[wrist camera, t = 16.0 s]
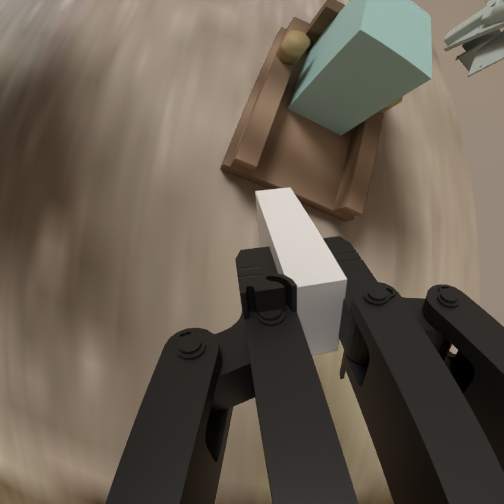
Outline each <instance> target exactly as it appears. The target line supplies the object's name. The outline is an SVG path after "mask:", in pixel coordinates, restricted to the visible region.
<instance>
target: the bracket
mask: <svg viewBox="0 0 504 504" xmlns="http://www.w3.org/2000/svg"><path fill="white" fill-rule="evenodd" d="M503 27H504V0H491V1H489V2H488V3H487V6H486V7H485V8H484V9H482V10H481V11H479V12H477V13H476V14H474V15H473V16H472V17H470V18H468V19H467V20H465V21H464V22H462V23H461V24H459V25H458V26H456V27H455V28H454V29H452V30H450V31H449V32H448V33H447V35H446V37H445V38H444V42H445V43H446V44H447V45H448V47H447V48H445V49H444V50H445V51H448V50H450V49H452V48H454V47H457V46H459V45H461V44H463V46H462V47H463V48H464V49H465V51H466V52H464V53H463V54H461V55H459V56H457V58H456V60H457V59H459V60H460V61H461V62H462V63H463V65H464V66H465V67H466V68H467V69H468V71H469V74H468V77H469V76H471V75H473V74H475V73H477V72H478V71H480V70H482V69H484V68H486V67H488V66H490V65H492V64H494V63H496V62H498V61H500V60H502V59H504V31H503V32H501V31H500V30H499V29H500V28H503Z"/></svg>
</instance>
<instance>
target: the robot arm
mask: <svg viewBox="0 0 504 504" xmlns="http://www.w3.org/2000/svg"><path fill="white" fill-rule="evenodd" d="M255 196H256V208H257V220H258V232H259V245H260V248H253V249H245V250H240V252H239V254H238V256H237V257H236V267H237V274H238V282H239V289H240V297H241V304H242V314H241V317H240V319H239V320H238V321H237V323H236V324H234V325H233V326H232V327H230V328H229V329H227V330H225V331H222V332H220V333H217V334H215V335H214V334H213V333H211V332H210V331H208V330H205V329H201V328H189V329H185V330H182V331H179V332H177V333H176V334H174V335H173V336H172V337H170V338H169V340H168V341H167V343H166V344H165V346H164V348H163V351H162V353H161V356H160V358H159V361H158V363H157V365H156V368H155V370H154V373H153V375H152V378H151V381H150V383H149V386H148V388H147V391H146V393H145V396H144V398H143V401H142V404H141V406H140V409H139V411H138V414H137V417H136V419H135V422H134V425H133V427H132V430H131V433H130V435H129V438H128V441H127V444H126V446H125V449H124V452H123V455H122V457H121V460H120V463H119V466H118V469H117V471H116V474H115V477H114V480H113V483H112V486H111V489H110V492H109V495H108V498H107V501H106V504H214V503H215V498H216V493H217V488H218V483H219V478H220V473H221V468H222V462H223V457H224V452H225V447H226V442H227V437H228V431H229V426H230V421H231V416H232V411H233V406H236V405H238V404H240V403H243V402H245V401H247V400H249V399H252V398H254V397H255V399H256V406H257V412H258V418H259V424H260V430H261V437H262V443H263V449H264V455H265V461H266V467H267V473H268V479H269V484H270V490H271V496H272V502H273V504H358V502H357V498H356V495H355V491H354V488H353V485H352V481H351V478H350V475H349V471H348V468H347V465H346V462H345V458H344V455H343V452H342V449H341V445H340V442H339V439H338V436H337V433H336V429H335V426H334V423H333V420H332V417H331V414H330V410H329V407H328V404H327V401H326V398H325V395H324V392H323V389H322V386H321V382H320V379H319V376H318V373H317V370H316V367H315V364H314V361H313V358H312V355H318V354H323V353H328V352H333V351H337V350H338V344H339V338H340V341H341V343H342V345H343V348H344V353H343V358H342V364H341V369H340V379H343V378H344V375H345V371H346V372H347V375H348V377H349V380H350V382H351V385H352V388H353V390H354V393H355V395H356V398H357V401H358V403H359V406H360V409H361V411H362V414H363V417H364V419H365V422H366V425H367V427H368V430H369V433H370V436H371V438H372V441H373V444H374V447H375V449H376V452H377V455H378V458H379V461H380V463H381V466H382V469H383V472H384V475H385V478H386V481H387V484H388V487H389V490H390V493H391V496H392V499H393V502H394V504H504V327H503V326H502V325H501V324H500V323H499V322H497V321H496V320H495V319H494V318H493V317H492V316H491V315H489V314H488V313H487V312H486V311H485V310H483V309H482V308H481V307H480V306H479V305H477V304H476V303H475V302H474V301H473V300H471V299H470V298H469V297H468V296H467V295H465V294H464V293H463V292H462V291H460V290H458V289H457V288H455V287H452V286H449V285H436V286H432V287H431V288H430V289H429V290H428V292H427V296H426V299H421V298H404V297H401V296H400V294H399V293H398V292H397V291H396V290H395V289H394V288H393V287H391V286H389V285H387V284H385V283H380V282H377V280H376V279H375V277H374V276H373V274H372V273H371V272H370V270H369V269H368V267H367V266H366V264H365V263H364V262H363V260H361V257H360V256H359V254H358V253H356V250H355V249H354V248H353V246H352V245H351V243H350V242H348V241H346V240H345V239H343V238H341V237H340V236H338V237H330V238H322V236H321V235H320V233H319V232H318V230H317V228H316V227H315V225H314V224H313V222H312V220H311V219H310V217H309V216H308V214H307V212H306V211H305V209H304V208H303V206H302V205H301V203H300V202H299V200H298V198H297V197H296V195H295V194H294V192H293V191H292V189H291V188H290V187H289V188H279V189H270V190H261V191H255ZM452 344H453V345H454V346H455V347H456V348H457V349H458V352H457V354H453V353H451V352H450V351H449V350H450V348H451V346H452Z"/></svg>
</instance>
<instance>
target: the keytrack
mask: <svg viewBox="0 0 504 504" xmlns="http://www.w3.org/2000/svg"><path fill="white" fill-rule="evenodd" d="M344 6H345V5H344V4H342V3H340V2H338V1H336V0H327V1H326V3H325V4H324V5H323V7H322V8H321V9H320V11H319V12H318V13H317V15H316V16H315V18H314V19H313V20H312V22H311V23H310V24H309V23H307V22H305V21H302V20H300V19H298V18H296V17H294V18H293V20H292V21H291V23H290V24H289V26H288V28H287V29H284V28H282V27H281V29H280V30H279V32H278V34H277V36H276V38H275V40H274V42H273V45H272V47H271V49H270V51H269V53H268V56H267V58H266V60H265V62H264V64H263V67H262V69H261V71H260V73H259V76H258V78H257V80H256V83H255V85H254V87H253V90H252V92H251V94H250V97H249V99H248V101H247V104H246V106H245V108H244V111H243V113H242V116H241V118H240V120H239V123H238V125H237V128H236V130H235V133H234V135H233V138H232V140H231V143H230V145H229V148H228V150H227V153H226V155H225V158H224V160H223V163H222V165H221V168H220V169H222V170H225V171H228V172H230V173H233V174H235V175H238V176H240V177H243V178H245V179H248V180H250V181H253V182H255V183H258V184H260V185H263V186H265V187H268V188H270V189H279V188H289V187H290V188H291V189H292V191H293V192H294V194H295V195H296V197H297V198H298V200H299V201H301V202H303V203H305V204H308V205H310V206H312V207H315V208H317V209H319V210H321V211H324V212H326V213H328V214H330V215H333V216H335V217H337V218H339V219H341V220H344V221H350V220H353V219H354V216H357V215H362V214H363V210H364V205H365V201H366V197H367V193H368V188H369V184H370V179H371V175H372V170H373V165H374V160H375V155H376V150H377V145H378V140H379V135H380V129H381V123H382V118H383V113H384V112H385V111H387V110H388V109H390V108H392V107H393V106H395V105H397V104H398V103H400V102H401V101H402V97H401V98H399V99H398V100H396V101H394V102H393V103H391V104H390V105H388V106H386V107H385V108H383V109H382V110H380V111H379V112H377V113H375V114H374V115H372V116H371V117H369V118H368V119H366V120H365V121H363V122H362V123H360V124H358V125H357V126H355V127H354V128H352V129H351V130H349V131H348V132H346V133H345V134H343V135H342V136H340V135H338V134H336V133H335V132H333V131H331V130H329V129H327V128H325V127H323V126H321V125H319V124H317V123H315V122H313V121H311V120H309V119H307V118H305V117H303V116H301V115H299V114H297V113H294V112H292V111H290V110H288V109H287V108H288V106H289V103H290V100H291V97H292V94H293V92H294V89H295V86H296V83H297V81H298V78H299V75H300V72H301V70H302V67H303V64H304V61H305V59H306V56H307V53H308V51H309V50H310V48H311V47H312V46H313V45H314V43H315V42H316V41H317V40H318V38H319V37H320V36H321V35H322V33H323V32H324V31H325V29H326V28H327V27H328V26H329V25H330V23H331V22H332V21H333V20H334V18H335V17H336V16H337V15H338V14H339V12H340V11H341V10H342V9H343V7H344Z"/></svg>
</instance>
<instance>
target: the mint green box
mask: <svg viewBox="0 0 504 504" xmlns="http://www.w3.org/2000/svg"><path fill="white" fill-rule="evenodd" d="M431 74H432V46H431V20H430V15H429V14H428V13H426V12H425V11H424V10H423V9H421V8H420V7H418V6H417V5H416V4H414V3H413V2H412V1H410V0H349V2H348V3H347V4H346V5H345V6H344V7H343V9H342V10H341V11H340V12H339V14H338V15H337V16H336V17H335V18H334V20H333V21H332V22H331V23H330V25H329V26H328V27H327V28H326V29H325V31H324V32H323V33H322V35H321V36H320V37H319V38H318V40H317V41H316V42H315V43H314V45H313V46H312V47H311V48H310V50H309V51H308V53H307V56H306V59H305V61H304V64H303V67H302V70H301V72H300V75H299V78H298V81H297V83H296V86H295V89H294V92H293V94H292V97H291V100H290V103H289V106H288V108H287V109H288V110H290V111H292V112H294V113H297V114H299V115H301V116H303V117H305V118H307V119H309V120H311V121H313V122H315V123H317V124H319V125H321V126H323V127H325V128H327V129H329V130H331V131H333V132H335V133H336V134H338V135H340V136H342V135H343V134H345V133H346V132H348V131H349V130H351V129H352V128H354V127H355V126H357V125H358V124H360V123H362V122H363V121H365V120H366V119H368V118H369V117H371V116H372V115H374V114H375V113H377V112H379V111H380V110H382V109H383V108H385V107H386V106H388V105H390V104H391V103H393V102H394V101H396V100H398V99H399V98H401V97H402V96H404V95H406V94H407V93H409V92H410V91H412V90H414V89H415V88H417V87H418V86H420V85H422V84H423V83H425V82H427V81H428V80H430V79H431Z"/></svg>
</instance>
